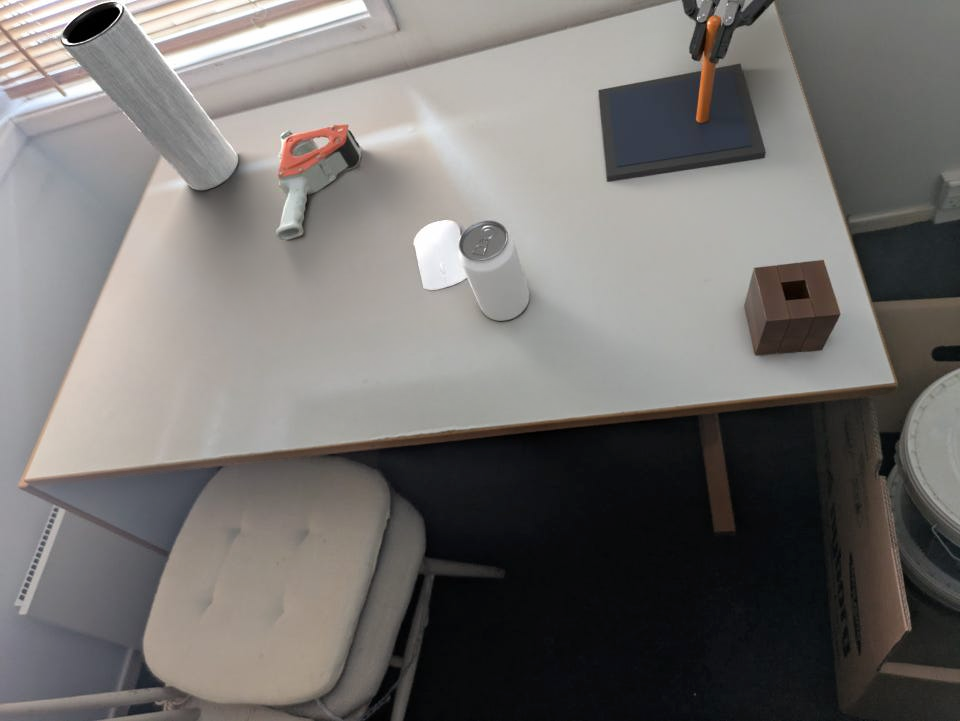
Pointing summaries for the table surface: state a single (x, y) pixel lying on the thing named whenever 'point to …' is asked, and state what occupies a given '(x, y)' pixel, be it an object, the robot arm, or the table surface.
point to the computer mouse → (439, 255)
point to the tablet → (677, 125)
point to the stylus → (707, 71)
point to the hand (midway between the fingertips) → (704, 60)
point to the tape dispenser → (311, 169)
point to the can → (494, 270)
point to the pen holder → (791, 308)
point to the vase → (149, 93)
